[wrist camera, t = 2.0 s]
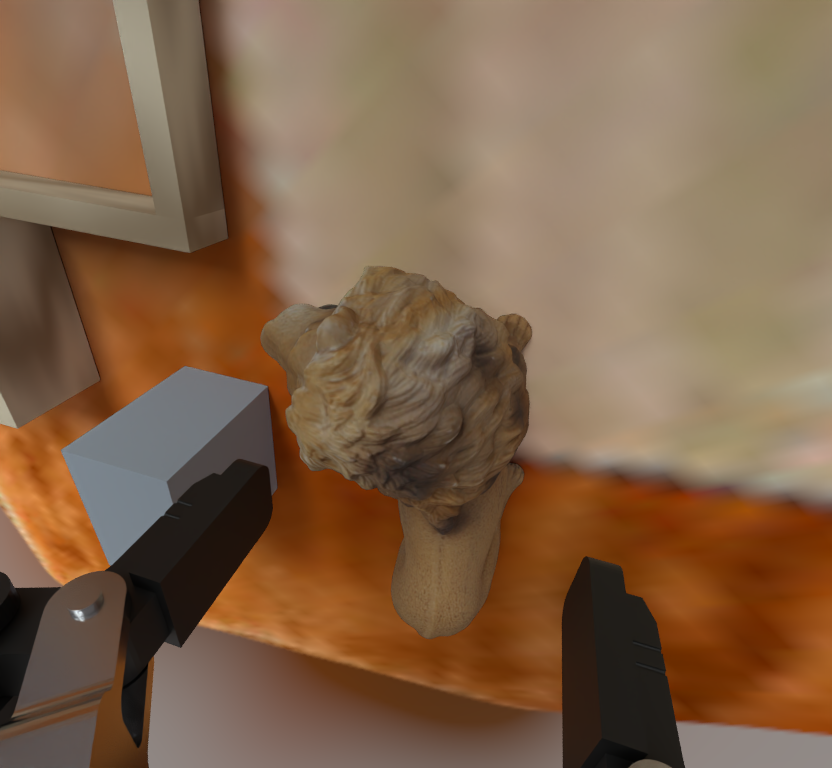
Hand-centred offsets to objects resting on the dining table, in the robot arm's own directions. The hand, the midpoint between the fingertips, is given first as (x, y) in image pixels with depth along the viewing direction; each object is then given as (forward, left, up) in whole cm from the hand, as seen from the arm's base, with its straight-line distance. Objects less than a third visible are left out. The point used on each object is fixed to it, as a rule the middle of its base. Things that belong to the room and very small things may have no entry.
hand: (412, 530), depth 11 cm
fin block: (+5, -10, -7) cm, 13 cm away
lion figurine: (0, 0, -7) cm, 7 cm away
